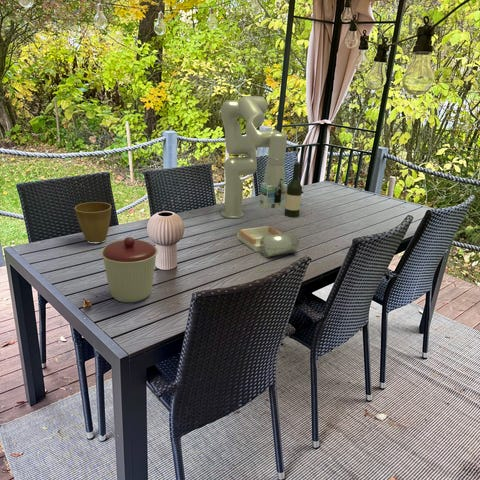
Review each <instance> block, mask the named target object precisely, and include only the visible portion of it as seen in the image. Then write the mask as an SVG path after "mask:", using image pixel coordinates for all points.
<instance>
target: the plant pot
mask: <svg viewBox="0 0 480 480" xmlns="http://www.w3.org/2000/svg"><path fill="white" fill-rule="evenodd" d="M74 210H75V211H74V213H75V215H76V219H77V222H78V224H79V227H80V230H81V232H82V234H83V236H84V238H85V240H86V242H87V241H89V242H102V241H104V240H105V241H106V239H107V236H108V233H109V229H110V228H109V227H110V223H111V215H112V205H111V204H110V203H107V202H103V201H91V202H89V201H88V202H83V203H80V204H77V205H75V207H74Z"/></svg>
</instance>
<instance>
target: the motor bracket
mask: <svg viewBox="0 0 480 480" xmlns="http://www.w3.org/2000/svg"><path fill="white" fill-rule="evenodd" d="M236 238H237V239H238V240H240V241H241V242H242V243H244V244H245V245H246V246H247V247H249V248H250V249H251V250H253V251H254V252H256V253H257V252H258V253H259V252H261V253H262V255H263V256H264V257H265V258H269V257H275V256H280V255H286V254H292V253H296V252H297V251H298V248H299V238H298V237H297V235H296V234H295V232H292V231H291V232H284V233H283V232H282V231H280V230H278V229H276V228H275V227H273V226H271V225H264V226H257V227H250V228H242V229H239V230H238V232H236Z"/></svg>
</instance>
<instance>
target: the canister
mask: <svg viewBox="0 0 480 480" xmlns="http://www.w3.org/2000/svg"><path fill="white" fill-rule="evenodd" d="M158 252H159V251H158V248H157V246H155V245H154V244H152V243H150V242H148V241H144V240H139V239H134V238H133V237H130V236H129V237H128V236H127V237H125V238H124V239H123V240H122V239H121V240H118V241H114V242H111V243H110V244H108V245H105V246H104V247H103V248H102V249H101V251H100V256H101V257H102V259H103V263H104V268H105V273H106V279H107V283H108V284H107V285H108V289H109V292H110V294H111V296H112V297H113V298H114V299H115V300H116V301H119V302H120V303H121V302H122V303H135V302H140V301H143V300H145V299H146V298H148V297H149V296H150V293H151V292H152V288H153V284H154V283H153V282H154V274H155V264H156V257H157V254H158Z"/></svg>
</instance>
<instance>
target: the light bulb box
mask: <svg viewBox="0 0 480 480" xmlns="http://www.w3.org/2000/svg"><path fill="white" fill-rule="evenodd" d="M284 185H285V187H286V189H285V190H284V192H283V193H282V194H281V202H280V203H274V199H275V194H276V191H275V189H274V188H273V186H272V185H270V184H268V183H264V182H261V183H260V191H259V202H258V205H259V206H260V207H261V208H264V209H265V210H273V209H281V208H282V209H285V205H286V194H287V186H288V184H286V183H284ZM278 187H280V186H278ZM278 191H279V189H278Z"/></svg>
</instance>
